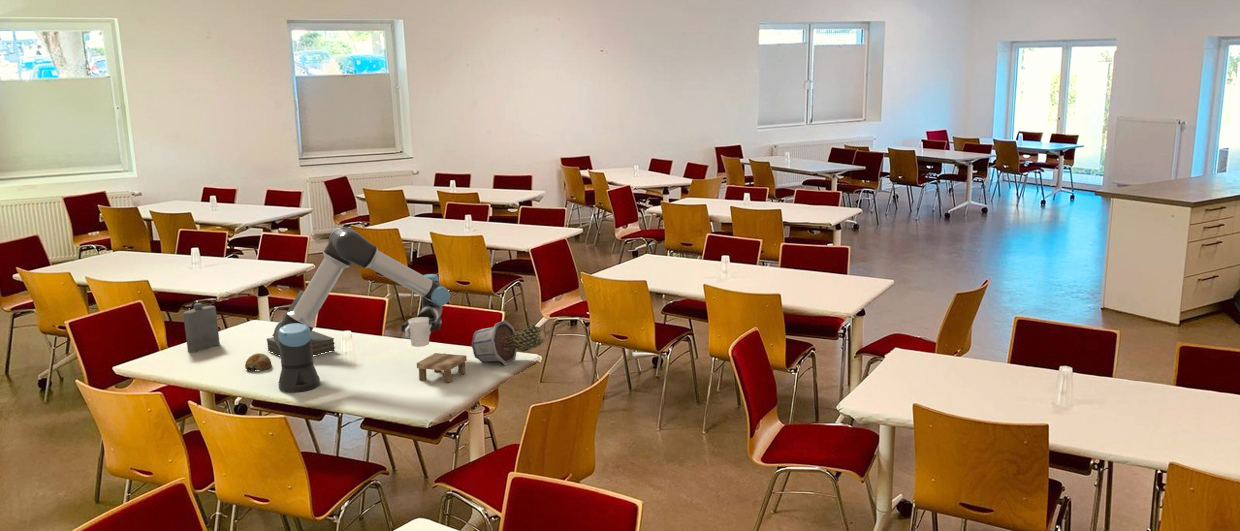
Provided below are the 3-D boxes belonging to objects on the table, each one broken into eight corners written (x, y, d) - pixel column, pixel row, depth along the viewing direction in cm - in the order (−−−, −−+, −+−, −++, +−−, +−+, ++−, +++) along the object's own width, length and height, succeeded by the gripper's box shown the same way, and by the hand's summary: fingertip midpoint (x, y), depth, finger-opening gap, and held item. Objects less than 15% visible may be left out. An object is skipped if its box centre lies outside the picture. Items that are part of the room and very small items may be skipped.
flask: (213, 342, 434) (208, 299, 430) (222, 344, 431) (217, 300, 427) (184, 351, 422) (178, 306, 418) (192, 352, 419) (187, 308, 415)
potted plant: (462, 331, 386) (527, 318, 374) (484, 322, 402) (547, 309, 391) (473, 373, 387) (538, 361, 375) (494, 362, 403) (557, 351, 392)
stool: (417, 380, 372) (416, 363, 370) (436, 369, 384) (435, 353, 383) (449, 383, 367) (448, 366, 365) (467, 372, 380) (466, 355, 378)
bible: (268, 352, 417) (262, 296, 412) (310, 342, 431) (305, 288, 426) (292, 362, 401) (286, 304, 396) (335, 352, 414) (330, 295, 410)
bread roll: (273, 377, 393) (279, 358, 394) (250, 372, 386) (256, 353, 387) (261, 372, 400) (267, 353, 401) (238, 367, 393) (244, 348, 394)
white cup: (434, 343, 376) (433, 318, 374) (420, 348, 370) (418, 323, 368) (419, 340, 380) (418, 316, 378) (405, 345, 374) (403, 320, 372)
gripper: (453, 325, 392) (444, 341, 370) (403, 327, 392) (390, 343, 370) (452, 307, 391) (442, 322, 368) (401, 309, 390) (389, 324, 368)
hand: (416, 332), depth 369 cm, fingers closed on white cup, 8 cm apart
